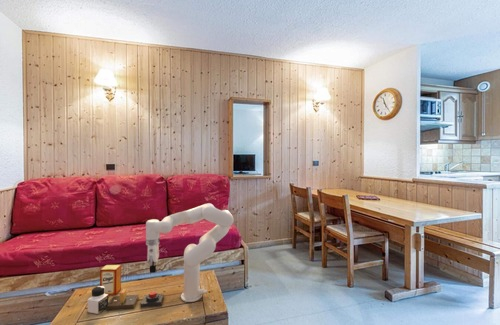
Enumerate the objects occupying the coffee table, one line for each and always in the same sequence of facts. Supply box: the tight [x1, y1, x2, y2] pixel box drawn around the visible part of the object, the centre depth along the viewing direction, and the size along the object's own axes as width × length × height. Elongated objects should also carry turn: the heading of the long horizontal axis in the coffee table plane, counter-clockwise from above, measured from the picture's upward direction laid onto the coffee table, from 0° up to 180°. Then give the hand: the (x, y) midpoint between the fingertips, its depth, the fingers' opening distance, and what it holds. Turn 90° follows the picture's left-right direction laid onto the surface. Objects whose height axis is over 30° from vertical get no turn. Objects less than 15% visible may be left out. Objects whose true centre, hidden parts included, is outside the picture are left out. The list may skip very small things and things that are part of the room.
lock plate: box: [105, 294, 140, 312], centre depth 142 cm, size 14×10×3 cm
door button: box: [148, 291, 157, 298], centre depth 145 cm, size 4×4×2 cm
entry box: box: [140, 292, 165, 308], centre depth 145 cm, size 11×9×4 cm
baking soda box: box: [99, 264, 122, 296], centre depth 155 cm, size 10×6×16 cm
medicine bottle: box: [87, 285, 109, 315], centre depth 137 cm, size 7×7×12 cm
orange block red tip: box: [119, 288, 127, 303], centre depth 142 cm, size 6×2×5 cm, turn 10°
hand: (152, 272), depth 146 cm, fingers closed
